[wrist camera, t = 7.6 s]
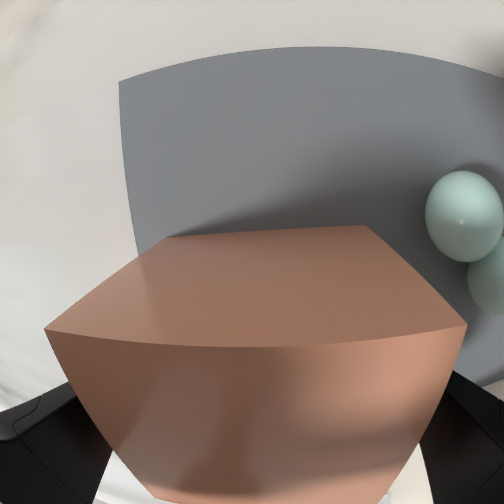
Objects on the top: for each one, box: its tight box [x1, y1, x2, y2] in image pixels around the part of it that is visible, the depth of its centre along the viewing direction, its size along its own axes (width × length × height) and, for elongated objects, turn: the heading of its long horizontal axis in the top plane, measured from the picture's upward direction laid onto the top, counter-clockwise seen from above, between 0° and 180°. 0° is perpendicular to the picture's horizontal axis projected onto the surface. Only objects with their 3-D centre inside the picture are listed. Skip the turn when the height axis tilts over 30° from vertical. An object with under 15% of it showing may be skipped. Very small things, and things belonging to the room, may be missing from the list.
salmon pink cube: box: [44, 225, 468, 504], centre depth 8 cm, size 7×7×6 cm
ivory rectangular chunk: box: [388, 380, 504, 504], centre depth 9 cm, size 7×7×6 cm
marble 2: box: [467, 236, 504, 315], centre depth 8 cm, size 3×3×3 cm
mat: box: [119, 47, 504, 387], centre depth 11 cm, size 24×21×1 cm
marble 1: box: [425, 171, 504, 262], centre depth 7 cm, size 3×3×3 cm
